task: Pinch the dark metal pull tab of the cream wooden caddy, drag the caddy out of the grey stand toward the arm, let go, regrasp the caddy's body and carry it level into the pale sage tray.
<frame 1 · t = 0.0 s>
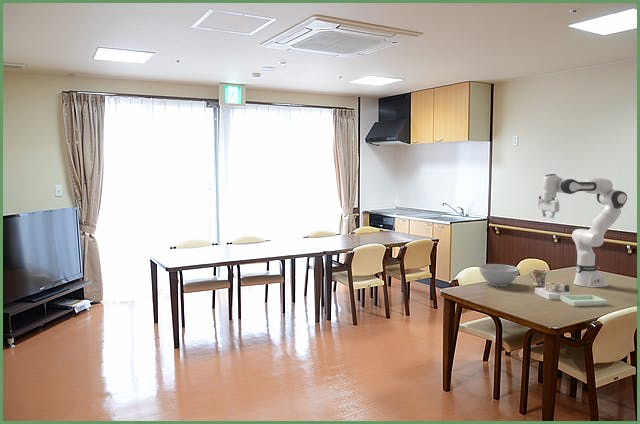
hand: (548, 217, 356), 48 cm above the table, fingers open, 8 cm apart
tray: (583, 302, 317), on the table
decorative bowl: (498, 284, 362), on the table
caddy: (554, 296, 332), on the table
mug: (537, 286, 360), on the table
stand: (554, 295, 333), on the table
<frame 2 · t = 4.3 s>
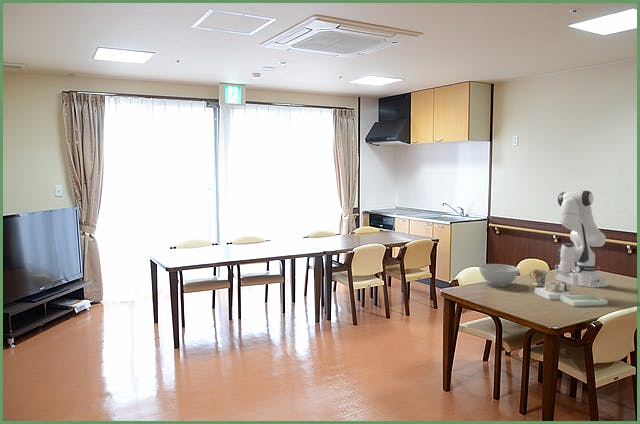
hand: (565, 289, 333), 4 cm above the table, fingers closed on caddy
caddy: (554, 295, 332), on the table, touching gripper
everything else where it was.
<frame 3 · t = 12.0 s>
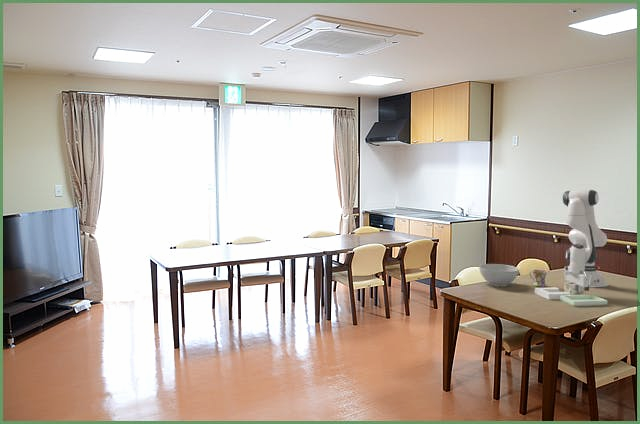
hand: (575, 290, 334), 3 cm above the table, fingers closed on caddy, 6 cm apart
caddy: (574, 295, 334), on the table, touching gripper
everything else where it was.
when the fingers open (6 cm above the table, at t = 19.4 s): caddy drops 1 cm, resting on tray.
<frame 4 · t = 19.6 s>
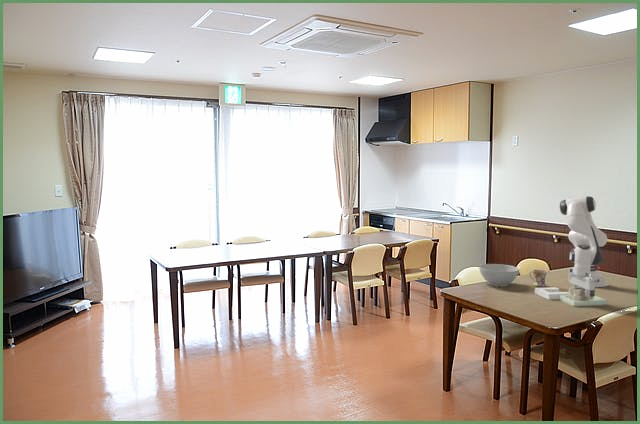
hand: (580, 293, 316), 6 cm above the table, fingers open, 8 cm apart
caddy: (578, 301, 317), point 1 cm above the table, touching tray
everything else where it was.
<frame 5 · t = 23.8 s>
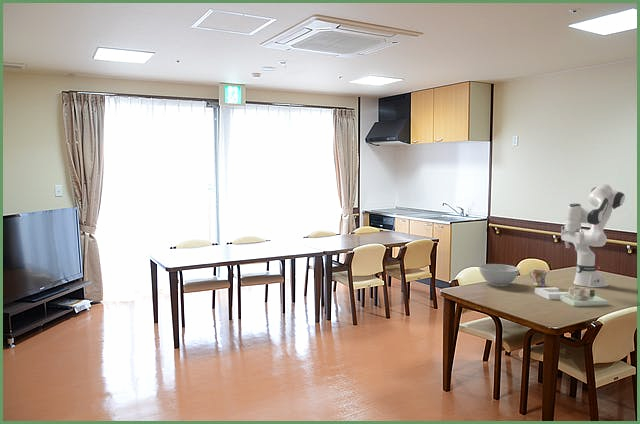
hand: (572, 249, 339), 29 cm above the table, fingers open, 8 cm apart
nothing on the table moved.
at the end: caddy inside the target area on the tray (1.0 cm from its centre), point 0.8 cm above the tray's base; caddy tilted 0°; the gripper is holding nothing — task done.
